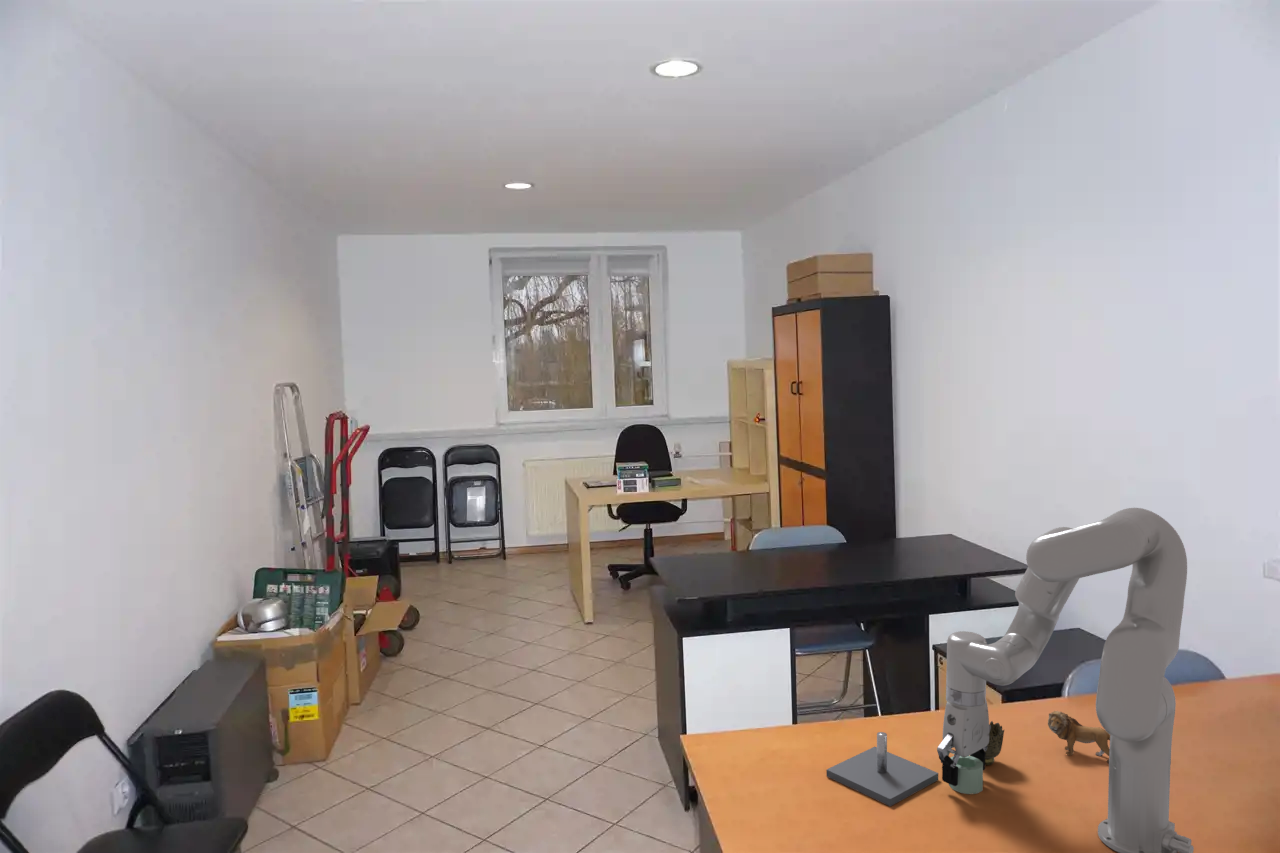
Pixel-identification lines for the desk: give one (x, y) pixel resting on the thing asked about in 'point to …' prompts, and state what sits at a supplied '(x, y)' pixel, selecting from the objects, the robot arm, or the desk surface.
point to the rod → (881, 752)
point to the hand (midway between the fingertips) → (963, 775)
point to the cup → (994, 743)
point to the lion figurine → (1077, 733)
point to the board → (882, 776)
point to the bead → (969, 775)
